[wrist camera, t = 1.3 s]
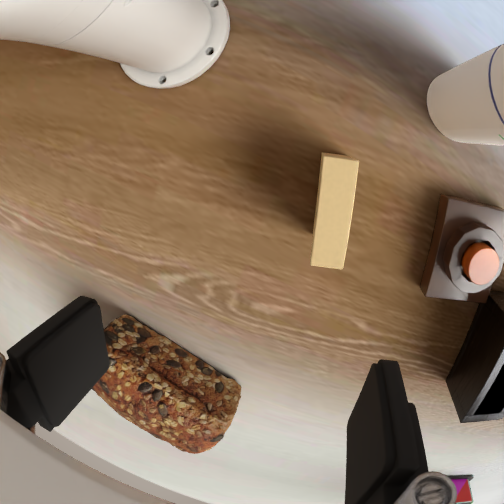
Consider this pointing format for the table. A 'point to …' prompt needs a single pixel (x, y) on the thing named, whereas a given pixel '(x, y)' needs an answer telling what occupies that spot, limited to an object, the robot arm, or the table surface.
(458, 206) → the control block
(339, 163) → the toast
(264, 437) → the table surface
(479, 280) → the button
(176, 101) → the table surface
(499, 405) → the toaster
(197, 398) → the bread
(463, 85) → the cylindrical container
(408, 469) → the robot arm
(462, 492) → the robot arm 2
